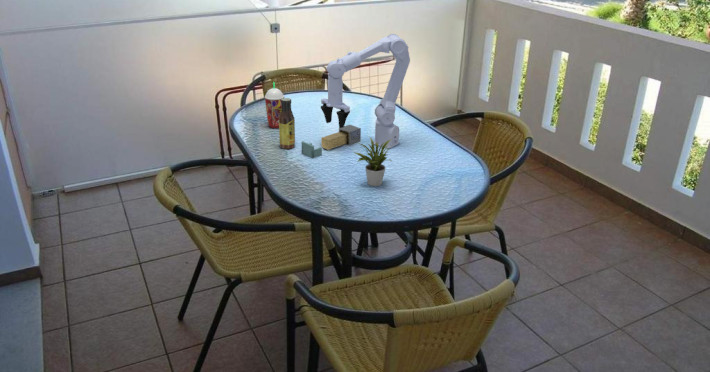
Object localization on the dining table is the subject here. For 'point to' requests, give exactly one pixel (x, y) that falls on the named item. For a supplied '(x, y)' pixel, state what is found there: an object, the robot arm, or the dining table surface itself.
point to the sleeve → (352, 134)
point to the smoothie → (273, 106)
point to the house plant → (375, 163)
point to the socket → (310, 150)
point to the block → (334, 140)
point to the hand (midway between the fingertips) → (335, 124)
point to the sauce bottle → (286, 125)
